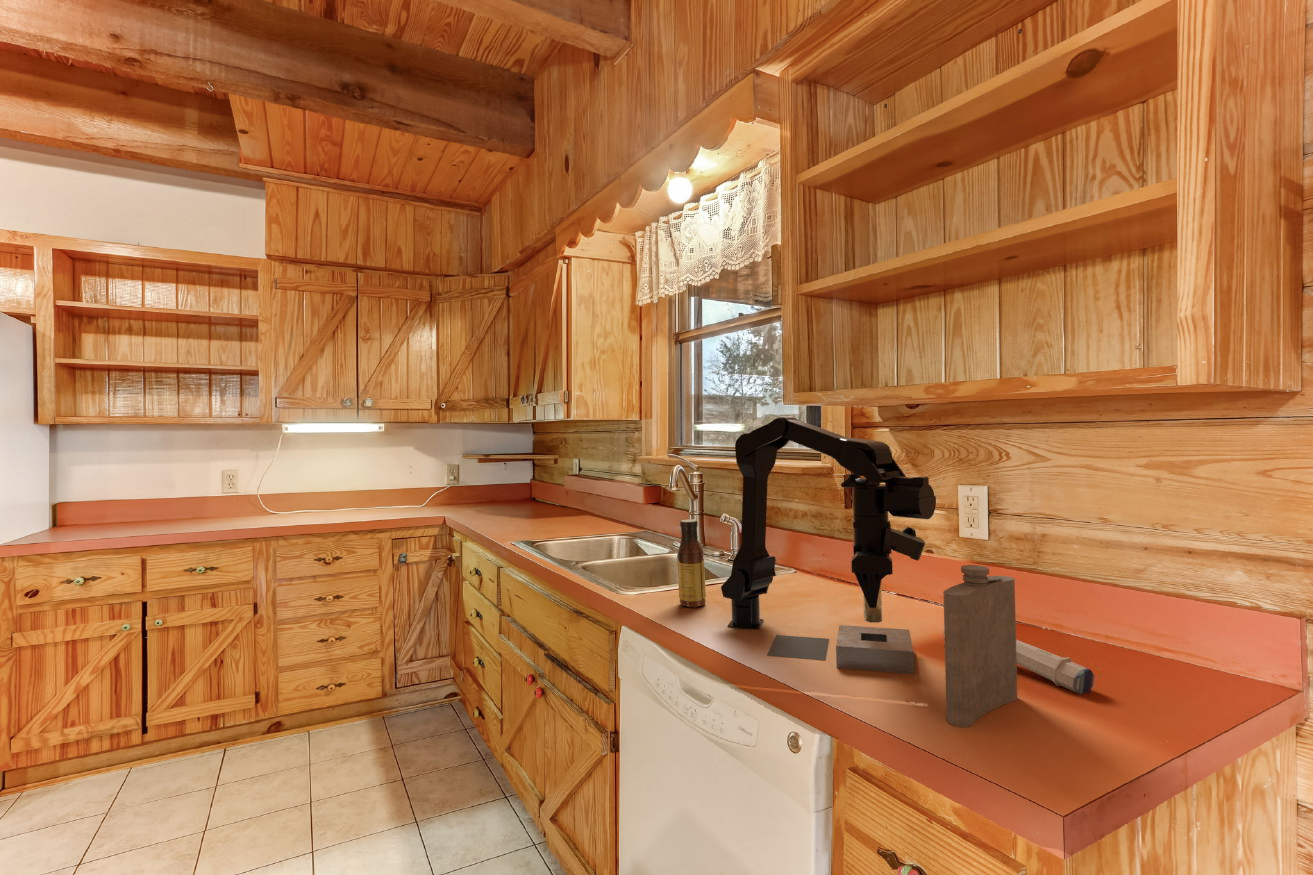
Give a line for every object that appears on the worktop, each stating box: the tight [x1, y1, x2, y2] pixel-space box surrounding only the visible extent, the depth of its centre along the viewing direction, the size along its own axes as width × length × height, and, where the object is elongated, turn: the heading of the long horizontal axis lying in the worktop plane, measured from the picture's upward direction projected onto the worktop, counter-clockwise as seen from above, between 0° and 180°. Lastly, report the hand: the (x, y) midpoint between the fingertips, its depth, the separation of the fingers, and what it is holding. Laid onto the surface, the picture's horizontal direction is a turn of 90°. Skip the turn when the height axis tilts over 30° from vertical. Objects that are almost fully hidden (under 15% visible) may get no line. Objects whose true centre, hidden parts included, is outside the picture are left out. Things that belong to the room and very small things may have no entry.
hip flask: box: [943, 564, 1018, 728], centre depth 90 cm, size 16×4×20 cm, turn 126°
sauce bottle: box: [676, 518, 707, 608], centre depth 149 cm, size 6×6×20 cm
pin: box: [862, 584, 883, 624], centre depth 110 cm, size 3×3×9 cm
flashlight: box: [942, 631, 1095, 695], centre depth 106 cm, size 5×7×25 cm
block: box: [835, 624, 915, 675], centre depth 110 cm, size 12×12×4 cm
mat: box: [766, 634, 830, 661], centre depth 117 cm, size 12×10×1 cm
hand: (872, 605), depth 110 cm, fingers closed on pin, 3 cm apart
